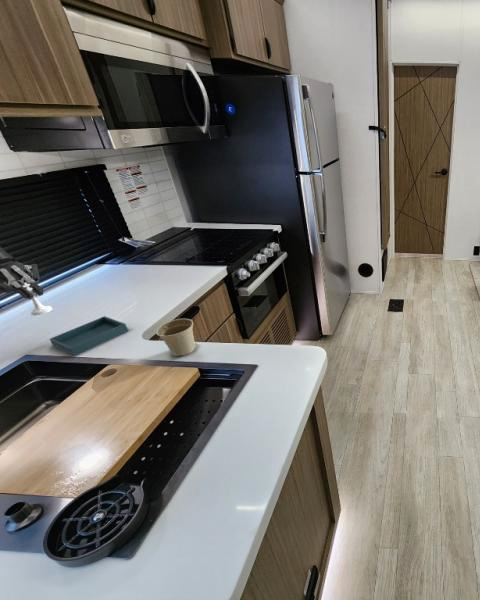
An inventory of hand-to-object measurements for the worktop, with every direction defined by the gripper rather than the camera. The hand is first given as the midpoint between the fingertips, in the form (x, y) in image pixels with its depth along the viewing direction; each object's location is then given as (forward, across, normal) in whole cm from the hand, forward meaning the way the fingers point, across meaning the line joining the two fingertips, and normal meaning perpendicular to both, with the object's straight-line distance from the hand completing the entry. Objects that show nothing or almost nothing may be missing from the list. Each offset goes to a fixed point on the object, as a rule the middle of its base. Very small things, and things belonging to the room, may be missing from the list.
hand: (36, 295), depth 102 cm
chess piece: (+3, 0, +6) cm, 6 cm away
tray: (+19, +2, +3) cm, 19 cm away
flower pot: (+43, +4, -22) cm, 49 cm away
